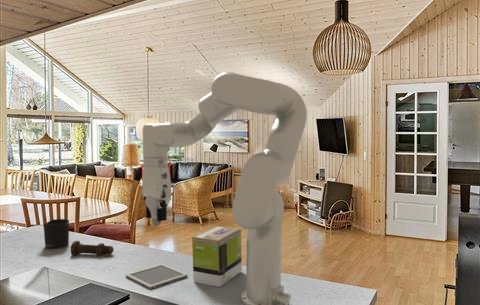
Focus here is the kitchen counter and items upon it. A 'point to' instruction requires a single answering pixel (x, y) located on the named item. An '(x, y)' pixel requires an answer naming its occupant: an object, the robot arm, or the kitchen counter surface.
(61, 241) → the pen holder
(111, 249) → the bolt
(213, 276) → the tea box
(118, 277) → the kitchen counter surface
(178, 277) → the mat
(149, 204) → the lightbulb
